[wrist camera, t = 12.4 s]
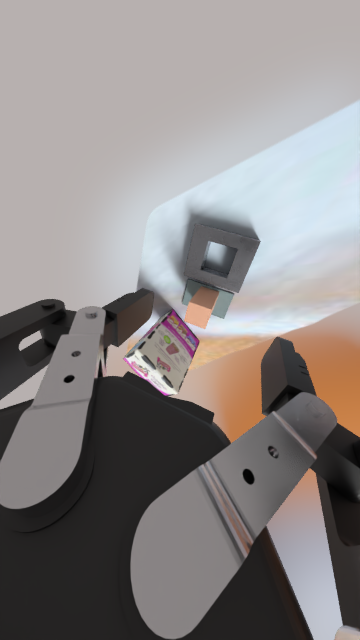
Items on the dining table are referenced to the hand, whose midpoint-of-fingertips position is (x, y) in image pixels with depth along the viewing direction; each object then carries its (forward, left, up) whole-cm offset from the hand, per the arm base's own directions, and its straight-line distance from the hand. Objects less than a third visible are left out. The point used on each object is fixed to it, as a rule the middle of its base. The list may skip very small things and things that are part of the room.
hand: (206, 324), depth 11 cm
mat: (+3, +9, -26) cm, 28 cm away
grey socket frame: (+3, +1, -26) cm, 26 cm away
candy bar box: (+7, +20, -26) cm, 33 cm away
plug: (+3, +9, -25) cm, 27 cm away
